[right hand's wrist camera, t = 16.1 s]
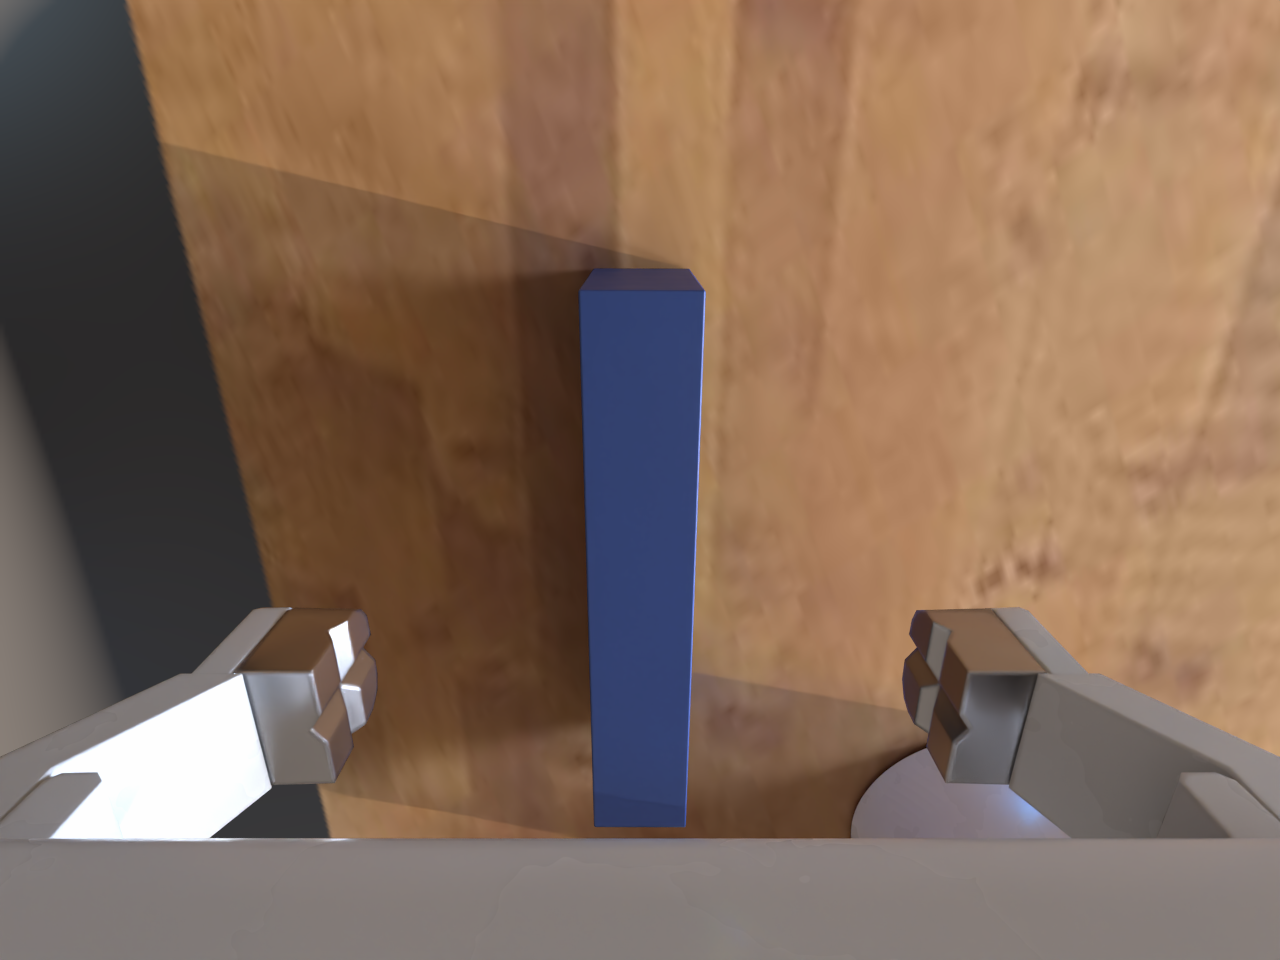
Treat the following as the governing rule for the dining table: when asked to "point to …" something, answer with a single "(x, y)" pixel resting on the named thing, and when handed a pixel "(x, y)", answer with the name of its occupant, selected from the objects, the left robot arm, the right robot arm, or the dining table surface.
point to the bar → (641, 533)
